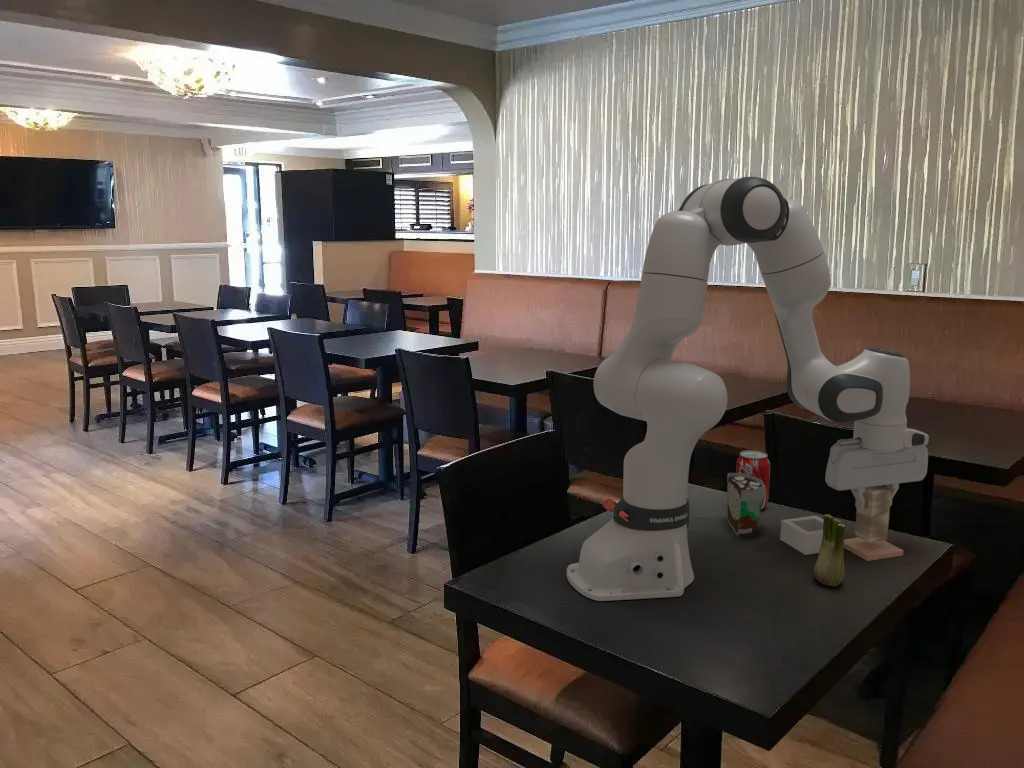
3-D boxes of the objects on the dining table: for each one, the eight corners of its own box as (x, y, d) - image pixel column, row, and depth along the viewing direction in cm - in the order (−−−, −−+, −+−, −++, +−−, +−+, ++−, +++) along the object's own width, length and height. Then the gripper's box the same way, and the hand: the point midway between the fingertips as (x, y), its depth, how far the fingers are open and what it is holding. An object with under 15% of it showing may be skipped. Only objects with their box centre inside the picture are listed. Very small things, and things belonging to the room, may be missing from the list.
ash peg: (869, 542, 159) (873, 491, 157) (854, 535, 163) (858, 485, 161) (887, 540, 160) (891, 489, 158) (872, 532, 164) (876, 482, 162)
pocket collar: (805, 554, 160) (806, 534, 159) (780, 539, 167) (781, 520, 167) (841, 549, 162) (842, 529, 161) (814, 534, 170) (816, 515, 169)
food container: (771, 539, 167) (774, 491, 165) (740, 540, 168) (742, 491, 166) (754, 517, 180) (756, 471, 178) (725, 517, 180) (727, 472, 178)
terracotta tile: (867, 561, 157) (867, 555, 157) (838, 545, 164) (839, 540, 164) (903, 555, 159) (903, 550, 159) (873, 539, 167) (873, 535, 167)
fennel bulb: (844, 591, 145) (849, 524, 142) (813, 588, 146) (818, 522, 144) (842, 577, 150) (846, 513, 148) (812, 574, 152) (816, 510, 149)
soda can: (771, 512, 182) (774, 458, 180) (738, 512, 182) (741, 458, 180) (763, 501, 189) (765, 449, 187) (731, 501, 189) (733, 449, 187)
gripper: (843, 445, 151) (837, 518, 154) (936, 435, 157) (929, 506, 160) (820, 436, 157) (815, 507, 160) (911, 427, 163) (905, 495, 166)
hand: (873, 506), depth 160 cm, fingers closed on ash peg, 4 cm apart
